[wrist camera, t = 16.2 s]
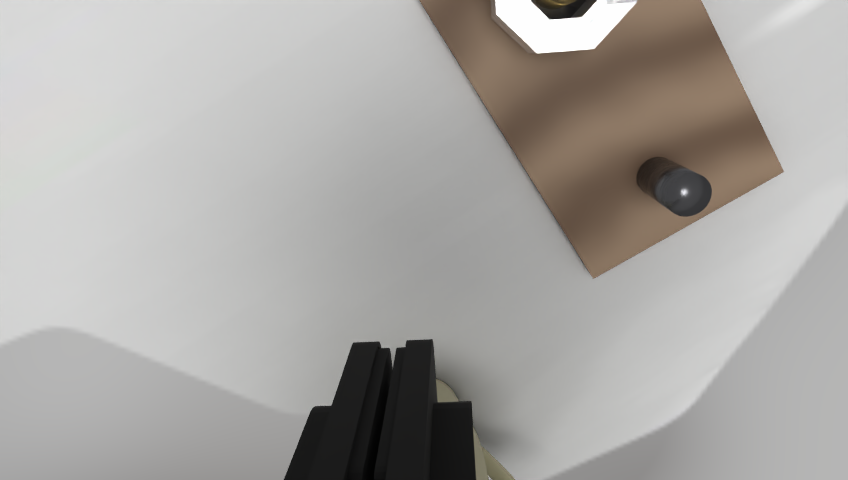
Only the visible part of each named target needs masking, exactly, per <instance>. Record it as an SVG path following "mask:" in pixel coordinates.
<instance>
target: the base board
mask: <svg viewBox="0 0 848 480" xmlns="http://www.w3.org/2000/svg"><path fill="white" fill-rule="evenodd" d="M419 1H420V2H421V4H422V5H423V7H424V9H425V10H426V12H427V13H428V15H429V17H430V18H431V20H432V21H433V23H434V25H435V26H436V28H437V29H438V31H439V33H440V34H441V36H442V37H443V39H444V41H445V42H446V44H447V45H448V47H449V49H450V50H451V52H452V53H453V55H454V57H455V58H456V60H457V61H458V63H459V65H460V66H461V68H462V69H463V71H464V73H465V74H466V76H467V77H468V79H469V81H470V82H471V84H472V85H473V87H474V89H475V90H476V92H477V93H478V95H479V97H480V98H481V100H482V101H483V103H484V105H485V106H486V108H487V109H488V111H489V113H490V114H491V116H492V117H493V119H494V121H495V122H496V124H497V125H498V127H499V129H500V130H501V132H502V133H503V135H504V137H505V138H506V140H507V141H508V143H509V145H510V146H511V148H512V149H513V151H514V153H515V154H516V156H517V157H518V159H519V161H520V162H521V164H522V165H523V167H524V169H525V170H526V172H527V173H528V175H529V177H530V178H531V180H532V181H533V183H534V185H535V186H536V188H537V189H538V191H539V193H540V194H541V196H542V197H543V199H544V201H545V202H546V204H547V205H548V207H549V209H550V210H551V212H552V213H553V215H554V217H555V218H556V220H557V221H558V223H559V225H560V226H561V228H562V229H563V231H564V233H565V234H566V236H567V237H568V239H569V241H570V242H571V244H572V245H573V247H574V249H575V250H576V252H577V253H578V255H579V257H580V258H581V260H582V261H583V263H584V265H585V266H586V268H587V269H588V271H589V273H590V274H591V276H592V277H593V279H594V278H596V277H597V276H599V275H601V274H603V273H604V272H606V271H608V270H610V269H612V268H613V267H615V266H617V265H619V264H621V263H622V262H624V261H626V260H628V259H629V258H631V257H633V256H635V255H637V254H638V253H640V252H642V251H644V250H645V249H647V248H649V247H651V246H653V245H654V244H656V243H658V242H660V241H662V240H663V239H665V238H667V237H669V236H670V235H672V234H674V233H676V232H678V231H679V230H681V229H683V228H685V227H686V226H688V225H690V224H692V223H694V222H695V221H697V220H699V219H701V218H702V217H704V216H706V215H708V214H710V213H711V212H713V211H715V210H717V209H719V208H720V207H722V206H724V205H726V204H727V203H729V202H731V201H733V200H735V199H736V198H738V197H740V196H742V195H743V194H745V193H747V192H749V191H751V190H752V189H754V188H756V187H758V186H760V185H761V184H763V183H765V182H767V181H768V180H770V179H772V178H774V177H776V176H777V175H779V174H781V173H783V172H784V171H783V169H782V167H781V165H780V163H779V161H778V159H777V156H776V154H775V152H774V150H773V148H772V146H771V144H770V142H769V140H768V138H767V136H766V134H765V132H764V130H763V127H762V125H761V123H760V121H759V119H758V117H757V115H756V113H755V111H754V109H753V107H752V105H751V103H750V101H749V98H748V96H747V94H746V92H745V90H744V88H743V86H742V84H741V82H740V80H739V78H738V76H737V74H736V72H735V69H734V67H733V65H732V63H731V61H730V59H729V57H728V55H727V53H726V51H725V49H724V47H723V45H722V42H721V40H720V38H719V36H718V34H717V32H716V30H715V28H714V26H713V24H712V22H711V20H710V18H709V16H708V13H707V11H706V9H705V7H704V5H703V3H702V1H701V0H637V3H636V4H635V5H634V6H633V7H632V8H631V9H630V10H629V11H628V12H627V14H626V15H625V16H624V17H623V18H622V19H621V20H620V21H619V22H618V23H617V24H616V25H615V27H614V28H613V29H612V30H611V31H610V32H609V33H608V34H607V35H606V36H605V37H604V38H603V40H602V41H601V42H600V43H599V44H598V45H597V46H596V47H595V48H594V49H584V50H571V51H558V52H545V53H527V52H526V51H525V50H524V49H523V48H522V47H521V46H520V45H519V44H518V43H517V42H515V41H514V40H513V39H512V38H511V37H510V36H509V35H508V34H507V33H506V32H505V31H504V30H503V29H502V28H501V27H500V26H499V25H498V24H497V23H496V22H495V21H494V20H493V19H492V18H491V0H419ZM654 157H664V158H667V159H669V160H671V161H673V162H675V163H677V164H679V165H681V166H683V167H686V168H688V169H690V170H692V171H694V172H696V173H698V174H700V175H702V176H704V177H705V178H706V179H707V180H708V181H709V183H710V185H711V188H712V196H711V199H710V202H709V203H708V205H707V206H706V208H705V209H704V210H702V211H701V212H700V213H698V214H696V215H693V216H688V217H683V216H678V215H676V214H674V213H673V212H671V211H670V210H668V209H667V208H665V207H664V206H663V205H661V204H660V203H658V202H657V201H656V200H654V199H653V198H651V197H650V196H649V195H647V194H646V193H644V192H643V191H642V190H641V189H640V188H639V186H638V184H637V180H636V177H637V172H638V170H639V168H640V166H641V165H642V164H643V163H644V162H645V161H647V160H648V159H651V158H654Z"/></svg>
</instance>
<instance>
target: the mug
mask: <svg viewBox="0 0 848 480" xmlns="http://www.w3.org/2000/svg"><path fill="white" fill-rule="evenodd" d="M436 386H437V400H438V402H459V400H458V399H457V397H456V395H455V394H454V392H453V390H452V389H451V388H450V387H449V386H448V385H447V384H445V383H444V382H442V381H440V380H438V379H436ZM473 435H474V452H475V468H476V480H489V479H488V475H489V477H490V478H491V479H492V480H515V479H514V478H513V476H512V475H511V474H510V473H509V472H508V471H507V470H506V469H505V468H504V467H503V466H502V465H501V464H500V463H499V462H498V461H497V460H496V459H495V458H494V457H493V456H492V455H491V454H490V453H489V452H488V451H487V450H485V449H484V448H483V447H482V446H481V444H480V441H479V438H478V436H477V434H476V431H475V429H474V427H473Z"/></svg>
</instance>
